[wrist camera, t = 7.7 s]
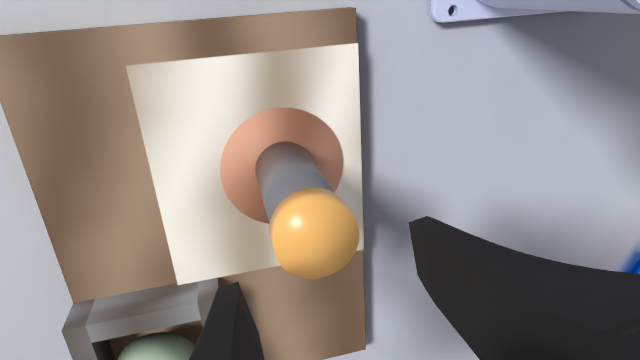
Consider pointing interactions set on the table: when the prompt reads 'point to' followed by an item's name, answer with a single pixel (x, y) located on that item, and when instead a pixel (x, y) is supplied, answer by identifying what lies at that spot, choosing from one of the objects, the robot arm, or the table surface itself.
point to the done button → (158, 347)
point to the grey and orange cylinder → (304, 213)
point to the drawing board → (187, 171)
